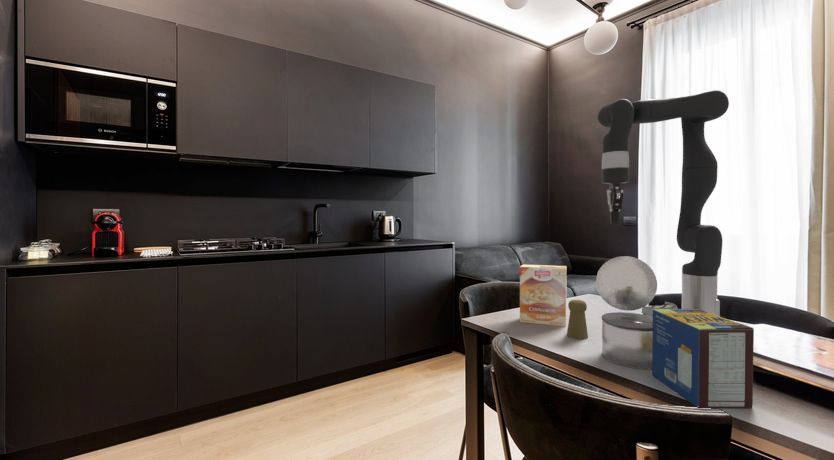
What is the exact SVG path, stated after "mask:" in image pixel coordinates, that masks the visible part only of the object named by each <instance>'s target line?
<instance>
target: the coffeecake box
mask: <svg viewBox="0 0 834 460" xmlns="http://www.w3.org/2000/svg"><path fill="white" fill-rule="evenodd" d="M567 267H568V266H567V265H549V264H547V265H546V264H544V265H543V264H525V263H524V264H522V265H520V267H519V323H523V324H526V323H527V324H535V325H544V326H545V325H547V326H555V327H556V326H557V327H564V328H565V327H566V324H567V289H568V288H567V286H568V285H567V277H568V276H567Z"/></svg>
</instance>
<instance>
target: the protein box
mask: <svg viewBox="0 0 834 460" xmlns="http://www.w3.org/2000/svg"><path fill="white" fill-rule="evenodd" d="M754 335H755V330H754V327H751V326H749V325H745V324H743V323H739V322H737V321H734V320H732V319H731V320H730V319H727V318H725V317H722V316H721V315H720V316H717V315H714V314H711V313H708V312H705V311H702V310H700V309H682V308H678V309H653V338H652V369H651V375H652V376H653V377H654V378H656V379H657V380H658V379H659V381H660V382H662V383H663V384H664V385H665V386H666V387H668V388H670V390H672V391H673V392H675V393H677V394H678V395H679V396H680V397H682V398H684V399H685V400H686V401H688V402H689V403H690V404H692V405H693V406H694V407H696V406H699V407H710V408H709V409H752V408H753V406H754V405H753V404H754V402H753V401H754V400H753V399H754V397H753V396H754V393H753V392H754V346H755V345H754V341H755V340H754V337H755V336H754Z"/></svg>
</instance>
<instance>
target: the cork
mask: <svg viewBox="0 0 834 460" xmlns="http://www.w3.org/2000/svg"><path fill="white" fill-rule="evenodd" d="M587 306H588V305H587V303H586V302H585V301H584V300H582V299H571V300H569V301H568V305H567V307H568V309H569V315H568V322H567V323H568V325H567V330H566V331H567V332H566V336H567V337H568V338H571V339H575V340H586V339H588V338H589V336H588V335H589V333H588V327H587V326H588V325H587V319H586V313H585V312H586V311H587V309H588V307H587Z"/></svg>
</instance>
